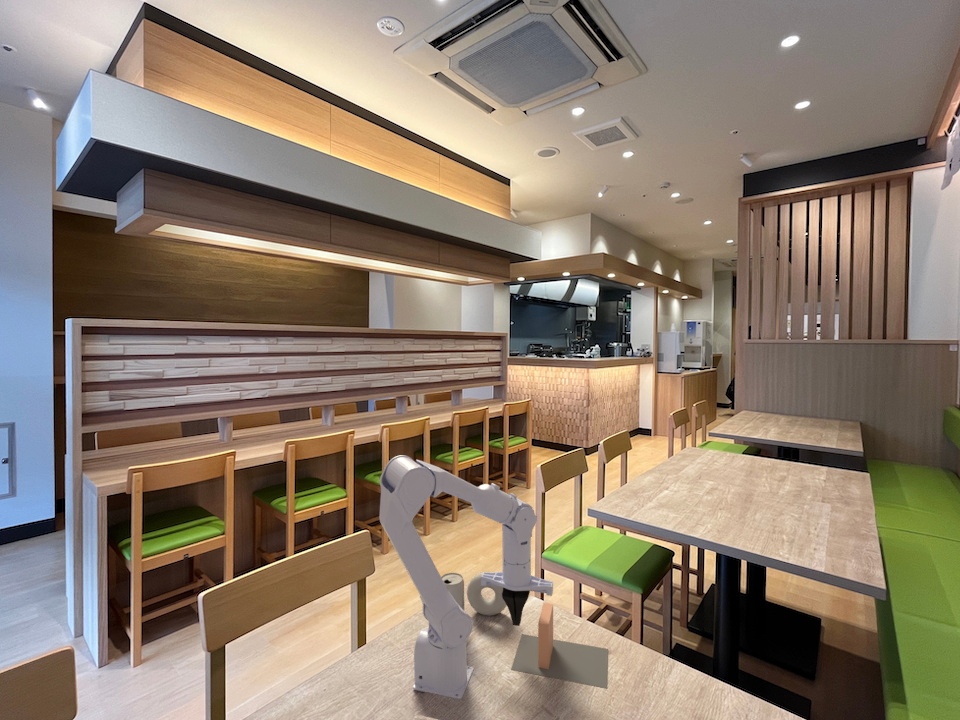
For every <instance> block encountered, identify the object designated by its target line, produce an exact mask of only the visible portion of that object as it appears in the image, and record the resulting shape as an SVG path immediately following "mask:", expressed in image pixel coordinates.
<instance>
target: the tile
mask: <svg viewBox="0 0 960 720" xmlns="http://www.w3.org/2000/svg"><path fill="white" fill-rule="evenodd" d="M537 629H538V630H537V632H538V633H537V635H538V636H537V637H538V667H539V668H545V669H549V665H550V660H551V654H552V649H553V639H554V603H549V602H548V603H547V602H543V604H542V608H541V611H540V615H539V619H538V622H537Z"/></svg>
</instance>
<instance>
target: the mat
mask: <svg viewBox="0 0 960 720" xmlns="http://www.w3.org/2000/svg"><path fill="white" fill-rule="evenodd" d="M608 665H609V648H605V647H599V646H595V645H594V646H593V645H588V644H583V643H576V642H570V641H564V640H558V639H554V638H553V649H552V654H551V660H550V665H549V669H545V668H539V667H538V636H536V635H530V634H524V633H521V635H520V639H519V642H518V645H517V649H516V652H515V655H514V657H513V662H512V666H511V668H510V670H511V671H515V672H520V673H525V674H530V675H536V676H541V677H547V678H551V679H556V680H562V681H567V682H571V683H576V684H577V683H578V684H582V685H586V686H592V687H595V688H602V689H608V676H609V675H608V674H609V673H608V672H609V671H608V669H609V666H608Z"/></svg>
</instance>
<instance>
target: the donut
mask: <svg viewBox="0 0 960 720" xmlns="http://www.w3.org/2000/svg"><path fill="white" fill-rule="evenodd" d="M483 572H484V571H483ZM483 572H480V573H478V574H475V575H474V576H473V577H471V579H470V580H469V583H468V585H467V589H466V596H467V597H466V598H467V601H468V602H469V605H470V607H471V608H472V609H473V610H474V611H476V612H477V613H478V614H480V615H483V616H487V617H488V616H489V617H490V616H497V614H501V612H503V611H504V610H505V609H506V608H507V605H506V603H505V601H504V600H503V598H502V592H503V587H500V586H493V585H487V586H481V576H482V574H483ZM488 572H489V573H493V571H492V572H491V571H488ZM485 588H486V589H487V588H488V589H491V590H492V591H493V593H494V597H493V598H491V599H490V598H489V599H487V598H485V597H483V594H482V590H484V589H485Z"/></svg>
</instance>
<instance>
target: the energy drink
mask: <svg viewBox="0 0 960 720" xmlns="http://www.w3.org/2000/svg"><path fill="white" fill-rule="evenodd" d="M441 578H442V580H443V582H444V584H445V585H446V587H447V589H448V591H449V592H450V594H451V595H452V597H453V598H454V600H455V601H456V602H457V603H458V605H459V606H460V607H461V608H462V609H463V610H464V611H465V580H464V576H463V575H461V574H460V573H457V572H447V573H445V574H442V575H441Z"/></svg>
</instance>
